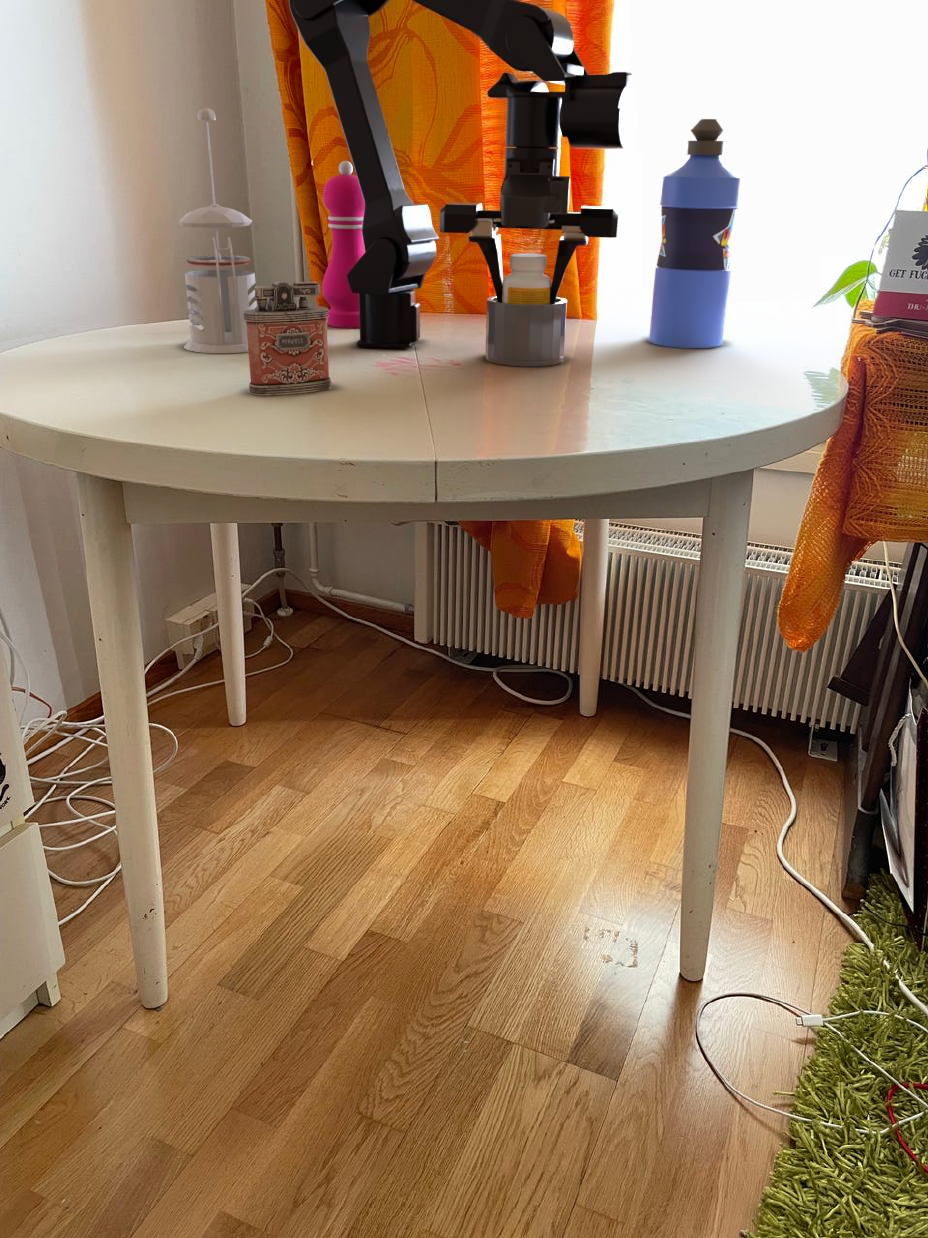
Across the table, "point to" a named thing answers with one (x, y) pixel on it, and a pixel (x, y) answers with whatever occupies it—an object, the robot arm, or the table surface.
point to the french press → (218, 280)
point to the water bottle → (695, 245)
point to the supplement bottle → (527, 280)
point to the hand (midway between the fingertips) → (525, 303)
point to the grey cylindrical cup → (525, 333)
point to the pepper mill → (343, 246)
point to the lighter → (287, 341)
